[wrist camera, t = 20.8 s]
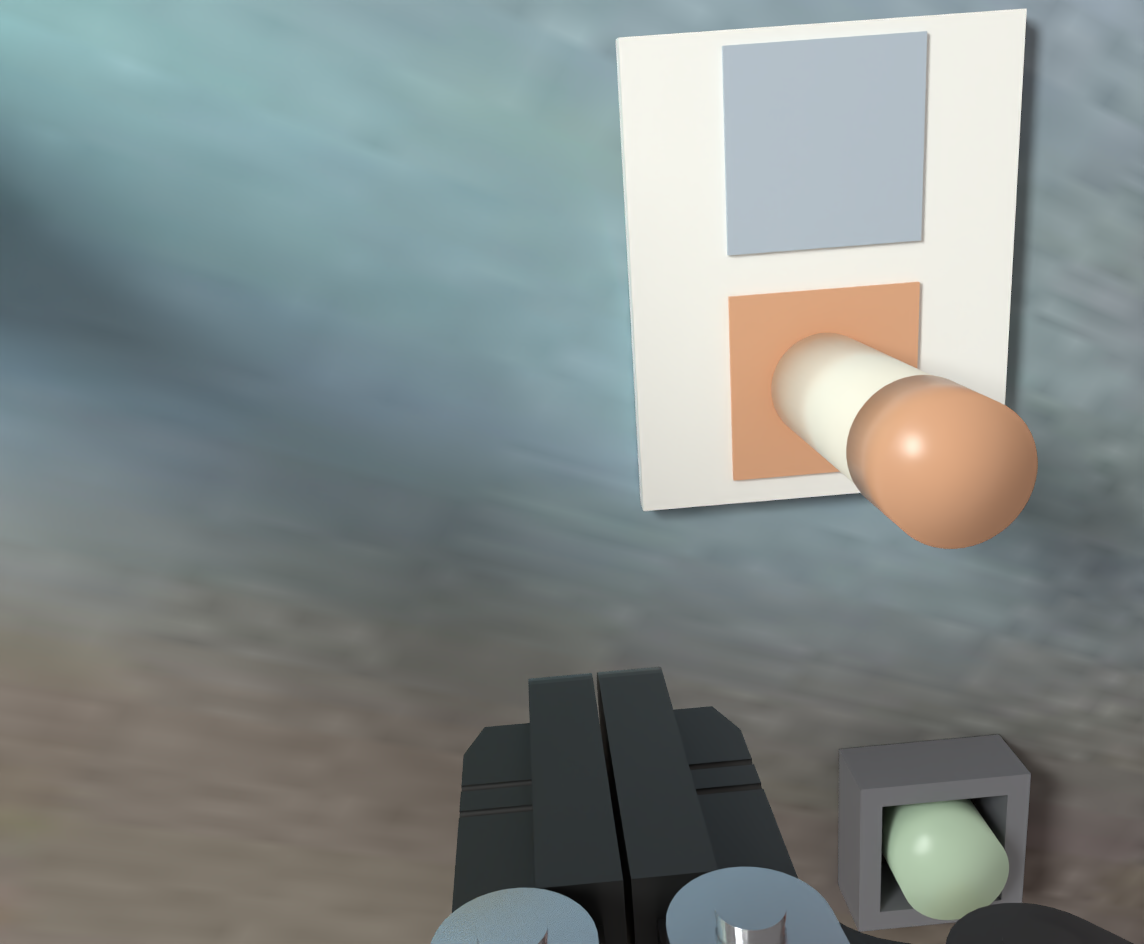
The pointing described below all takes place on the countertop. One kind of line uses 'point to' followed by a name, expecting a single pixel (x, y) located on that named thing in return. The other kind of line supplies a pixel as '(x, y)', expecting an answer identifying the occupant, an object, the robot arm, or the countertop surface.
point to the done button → (943, 857)
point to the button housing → (921, 779)
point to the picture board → (809, 227)
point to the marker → (908, 439)
